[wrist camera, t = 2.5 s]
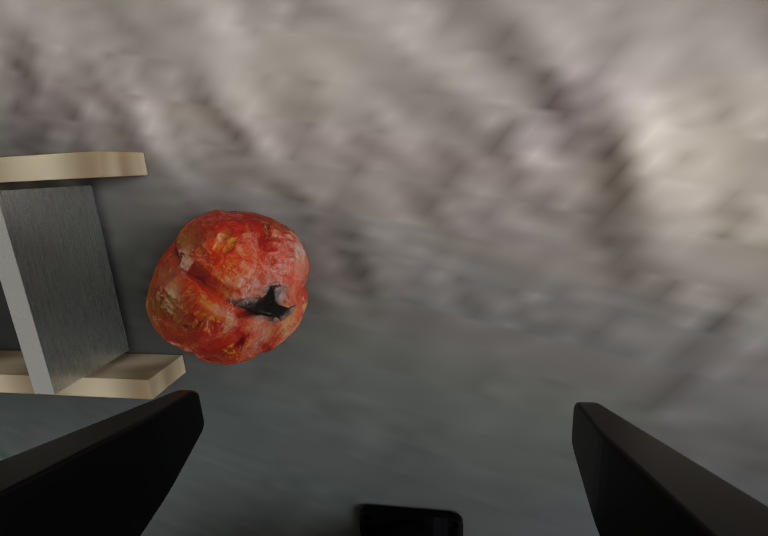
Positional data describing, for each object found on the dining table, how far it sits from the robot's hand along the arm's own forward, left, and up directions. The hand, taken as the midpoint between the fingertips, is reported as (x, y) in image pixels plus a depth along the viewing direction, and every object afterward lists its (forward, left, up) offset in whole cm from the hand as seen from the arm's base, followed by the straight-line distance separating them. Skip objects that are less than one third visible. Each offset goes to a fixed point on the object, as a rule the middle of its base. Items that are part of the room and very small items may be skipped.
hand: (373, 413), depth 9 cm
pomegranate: (+9, 0, -13) cm, 16 cm away
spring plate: (+19, 0, -13) cm, 23 cm away
